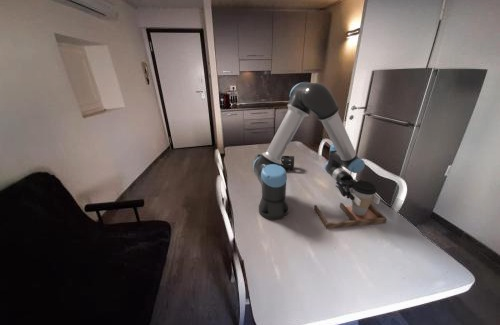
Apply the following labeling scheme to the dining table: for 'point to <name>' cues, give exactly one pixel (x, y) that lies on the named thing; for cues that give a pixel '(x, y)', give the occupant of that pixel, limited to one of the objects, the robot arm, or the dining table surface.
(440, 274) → the dining table surface
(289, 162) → the muzzle brake
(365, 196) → the coffee cup
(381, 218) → the divided wooden tray
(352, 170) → the robot arm
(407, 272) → the dining table surface
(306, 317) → the dining table surface
